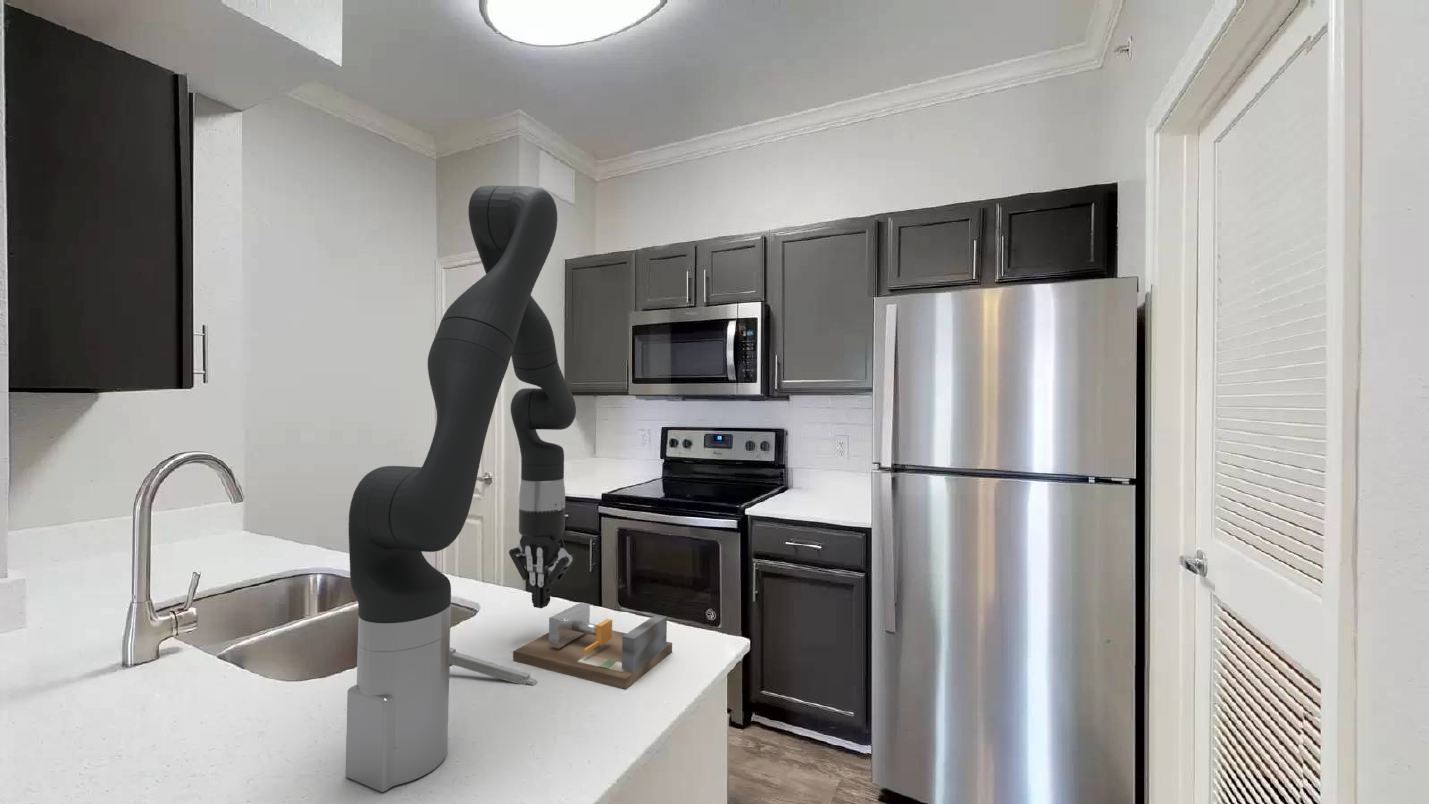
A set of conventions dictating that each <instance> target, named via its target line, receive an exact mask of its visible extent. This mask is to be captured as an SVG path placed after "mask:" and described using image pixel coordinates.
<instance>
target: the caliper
mask: <svg viewBox="0 0 1429 804" xmlns="http://www.w3.org/2000/svg"><path fill="white" fill-rule="evenodd" d="M452 666H456V667H460V668H462V669H467V670H470V671H473V672H475V673H480V674H483V675H485V676H486V675H487V676H489V677H493V678H496V679H500V680H502V681H505V682H508V683H512V684H515V685H531V686H535V685H536V684H537V683H538V680H537V679H536V678H533V677H530V676H531V674H530V673H529V672H526V671H521V670H518V669H515V668H512V667H507V666H505V665H501V664H498V663H494V662H491V661H488V660H485V659H481V658H478V657H475V656H474V657H473V656H470V655H467V654H464V653H461V652H457V651H456V648H454V647H451V646H450V659H449V668H450V667H452Z"/></svg>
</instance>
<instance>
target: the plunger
mask: <svg viewBox="0 0 1429 804" xmlns="http://www.w3.org/2000/svg"><path fill="white" fill-rule="evenodd" d="M590 605H591V604H589V603H585V602H579V603H576V604H575V605H573V606H571V607H569V608H567V609H564V610H563V611H560V612H558V613H557V614H553V615H552V616H550V617H548V633H549V646H550V647H555V648H560V647H562V646H564V645H565V644H567V643H569V642H571V641H572V640H574V639H576V638H578V637H579V636H581V635H583V634H585V633H586V634H591V635H596V625H597V624H595V623H590V613H591V610H590V609H591V607H590Z"/></svg>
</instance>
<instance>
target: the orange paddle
mask: <svg viewBox="0 0 1429 804" xmlns="http://www.w3.org/2000/svg"><path fill="white" fill-rule="evenodd" d="M612 630H613V619H609V618H606V619H604V620H602V621H601V622H599V623H598V624H596V642H595V643H593V644H592V645H590V646H588V647H587V648H585V649H584V653H585V654H586V653H588V652H589V651H591V650H593V649H594V648H596V647H597V646H599V645H602V644H604V643H605V642H607V641H608V640H610V639H612Z"/></svg>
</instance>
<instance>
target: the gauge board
mask: <svg viewBox="0 0 1429 804" xmlns="http://www.w3.org/2000/svg"><path fill="white" fill-rule="evenodd" d="M667 620H668V617H667V615H666V616H665V615H661V614H654V615H653V616H652V617H650V618H648V619H647V620H646V621H644V622H643V623H640V625H638V626H635V628H632V629H631V630H630V631H629V632H622V631H617V630H613V629H612V639H610V640H608V641H607V642H605V643H604V644H602V645H599V646H597V647H596V648H594V649H593V650H591V651H589V652H588V653H586V654H585V653H584V649H585V648H587V647H588V646H590V645H592V644H593V643H595V642H596V635H591V634H586V633H585V634H583V635H581V636H579V637H578V638H576V639H574V640H572V641H571V642H569V643H567V644H565V645H564V646H562V647H560V648H555V647H550V646H549V632H547V633H545V634H543V635H541V636H539V637H537V638H535V639H533V640H531V641H529V642H527V643H526V644H524V645H522V646H520V647H518V648H517V649H514V650H513V651H512V661H514V662H517V663H521V664H525V665H529V666H533V667H537V668H541V669H544V670H548V671H552V672H557V673H560V674H563V675H569V676H571V677H572V676H573V677H576V678H580V679H584V680H586V681H587V680H588V681H592V682H594V683H600V684H604V685H606V686H607V685H608V686H610V687H611V686H612V687H616V688H620V689H623V690H627V689H628V688H629V687H631V686H632V685H633V684H634V683H636V682H637V681H638V680H639V679H641V678H642V677H643V676H644V675H645V674H647V673H648V672H650V671H651V669H653V668H654V667H655V666H657V665H658V664H659V663H660V662H661V661H662V660H664V659H665V658H666V657H668V656H669V655H670V654H672V653H673V643H672V642H670V641H667V634H668V633H667V632H668V631H667V629H668V628H667V626H668V625H667V624H668V621H667Z"/></svg>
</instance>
